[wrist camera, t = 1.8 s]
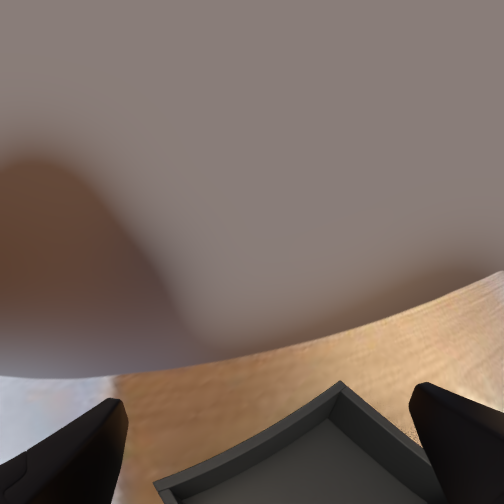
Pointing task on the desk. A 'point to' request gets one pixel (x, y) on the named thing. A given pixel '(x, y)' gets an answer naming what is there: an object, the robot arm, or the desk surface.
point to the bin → (314, 462)
